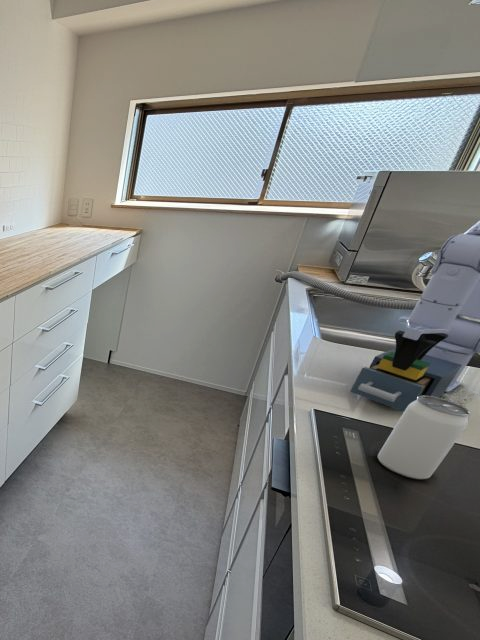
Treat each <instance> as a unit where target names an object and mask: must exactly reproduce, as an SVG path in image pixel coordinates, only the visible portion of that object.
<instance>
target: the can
mask: <svg viewBox="0 0 480 640" xmlns="http://www.w3.org/2000/svg"><path fill="white" fill-rule="evenodd" d="M470 415H471V411H470V410H469V409H467V408H466V407H464V406H463V405H460V404H459V403H456V402H453V401H451V400H448V399H444V398H441V397H439V398H437V397H432V396H419V397H417V400H415V401H414V402H412V403H410V404H409V405H408V407H407V408H406V410H405V411H404V412H403V413H402V415H401V416H400V418H399V419H398V421H397V423H396V424H395V426H394V427H393V429H392V430H391V432H390V434H389V436H388V437H387V439H386V441H384V443H383V446H382V447H381V449H380V450H379V452H378V454H377V459H378V461H379V463H380V464H381V466H383V467H384V468H386V469H387V470H389V471H391V472H393V473H395V474H396V475H400V476H402V477H405V478H408V479H413V480H428V479H430V478H431V477H432V475H433V474H434V473H435V471H436V470H438V467H439V466H440V464H442V462H443V460H444V459H445V458H446V456H447V455H448V453H450V451H451V449H452V447H453V446H454V445H455V443H456V442H457V441H458V439H459V438H460V437H461V435H462V433H463V432H464V430H465V429H466V428H467V427H468V424H469V416H470Z"/></svg>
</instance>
